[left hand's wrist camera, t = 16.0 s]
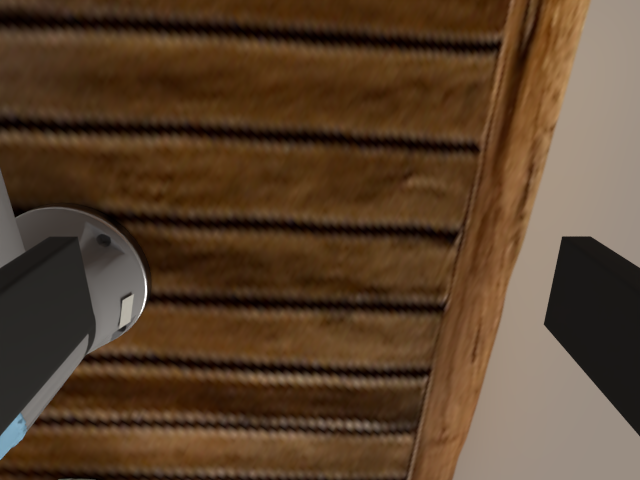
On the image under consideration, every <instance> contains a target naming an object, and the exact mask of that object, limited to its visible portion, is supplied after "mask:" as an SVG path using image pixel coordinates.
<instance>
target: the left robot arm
mask: <svg viewBox="0 0 640 480" xmlns="http://www.w3.org/2000/svg"><path fill="white" fill-rule="evenodd" d="M150 293H151V273H150V268H149V265H148V262H147V259H146V257H145V254H144V253H143V251H142V249H141V247H140V246H139V244H138V243H137V241H136V240H135V239H134V238H133V236H132V235H131V234H130V233H129V232H128V231H127V230H126V229H125V228H124V227H123V226H121V225H120V224H119V223H118V222H116V221H115V220H113V219H112V218H110V217H109V216H107V215H105V214H103V213H101V212H99V211H97V210H94V209H92V208H88V207H85V206H81V205H77V204H69V203H54V204H47V205H43V206H39V207H36V208H34V209H31V210H29V211H27V212H26V213H24V214H22V215H20V216H18V217H16V218H15V217H14V213H13V210H12V207H11V203H10V200H9V196H8V193H7V190H6V186H5V183H4V180H3V176H2V173H1V169H0V460H1V459H2V457H3V456H4V455H5V454H6V453H7V452H8V451H9V450H10V449H11V448H12V447H14V446H15V445H17V444H18V443H19V442H20V441H21V440H22V439H23V437H24V436H25V434H26V432H27V431H28V429H29V428H30V427H31V426H32V424H33V423H34V422H35V420H36V419H37V418H38V416H39V415H40V414H41V413H42V411H43V410H44V409H45V407H46V406H47V405H48V403H49V402H50V401H51V400H52V398H53V397H54V396H55V394H56V393H57V392H58V390H59V389H60V388H61V387H62V385H63V384H64V383H65V381H66V380H67V379H68V377H69V376H70V375H71V374H72V372H73V371H74V370H75V368H76V367H77V366H78V364H79V363H80V362H81V360H82V359H83V358H84V357H85V355H86V354H88V353H90V352H92V351H94V350H96V349H97V348H99V347H101V346H103V345H105V344H107V343H109V342H110V341H113V340H114V339H116V338H118V337H119V336H121V335H122V334H123V333H125V332H126V331H127V330H129V329H130V328H131V327H132V326H133V324H134V323H135V322H136V321H137V319H138V318H139V317H140V315H141V314H142V312H143V311H144V309H145V307H146V305H147V303H148V300H149V297H150ZM544 325H545V326H546V328H547V329H548V330H549V331H550V332H551V333H552V334H553V336H554V337H555V338H556V339H557V340H558V341H559V343H560V344H561V345H562V346H563V347H564V348H565V350H566V351H567V352H568V353H569V354H570V355H571V357H572V358H573V359H574V360H575V361H576V362H577V364H578V365H579V366H580V367H581V368H582V369H583V371H584V372H585V373H586V374H587V375H588V376H589V378H590V379H591V380H592V381H593V382H594V383H595V385H596V386H597V387H598V388H599V389H600V390H601V391H602V393H603V394H604V395H605V396H606V397H607V398H608V400H609V401H610V402H611V403H612V404H613V405H614V407H615V408H616V409H617V410H618V411H619V412H620V414H621V415H622V416H623V417H624V418H625V419H626V421H627V422H628V423H629V424H630V425H631V426H632V428H633V429H634V430H635V431H636V432H637V433H638V435H639V436H640V268H639V267H637V266H636V265H634V264H633V263H631V262H630V261H628V260H626V259H625V258H623V257H622V256H620V255H619V254H617V253H615V252H614V251H612V250H611V249H609V248H608V247H606V246H604V245H603V244H601V243H600V242H598V241H597V240H595V239H594V238H592V237H562V240H561V245H560V250H559V254H558V259H557V264H556V269H555V274H554V278H553V283H552V288H551V293H550V297H549V302H548V307H547V312H546V317H545V322H544Z"/></svg>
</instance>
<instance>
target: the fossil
mask: <svg viewBox="0 0 640 480" xmlns="http://www.w3.org/2000/svg"><path fill="white" fill-rule="evenodd" d="M59 480H94V479H72V478H70V479H59Z"/></svg>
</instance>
